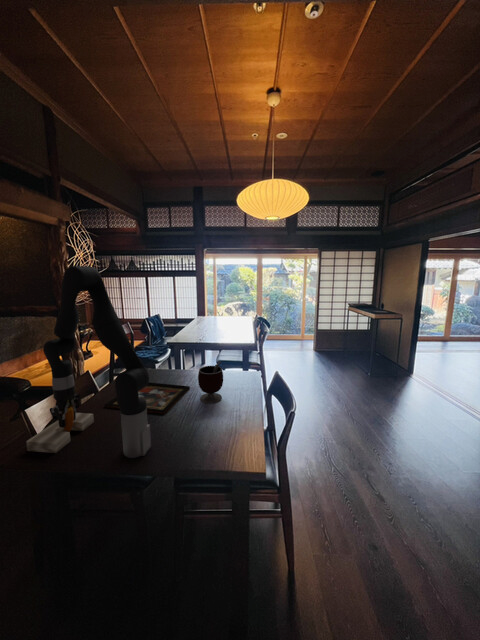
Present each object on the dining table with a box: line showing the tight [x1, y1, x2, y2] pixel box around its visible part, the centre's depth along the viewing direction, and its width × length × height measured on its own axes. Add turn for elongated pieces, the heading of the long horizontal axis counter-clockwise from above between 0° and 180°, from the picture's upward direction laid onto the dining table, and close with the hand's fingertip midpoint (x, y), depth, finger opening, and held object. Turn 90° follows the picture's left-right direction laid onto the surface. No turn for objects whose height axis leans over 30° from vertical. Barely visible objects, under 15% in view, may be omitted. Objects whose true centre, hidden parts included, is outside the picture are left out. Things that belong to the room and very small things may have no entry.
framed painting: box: [103, 381, 190, 415], centre depth 144 cm, size 38×35×3 cm
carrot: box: [61, 400, 74, 432], centre depth 108 cm, size 5×5×15 cm
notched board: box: [26, 412, 95, 454], centre depth 109 cm, size 12×22×4 cm, turn 174°
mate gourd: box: [197, 360, 224, 405], centre depth 142 cm, size 16×14×20 cm
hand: (68, 423), depth 108 cm, fingers closed on carrot, 5 cm apart
